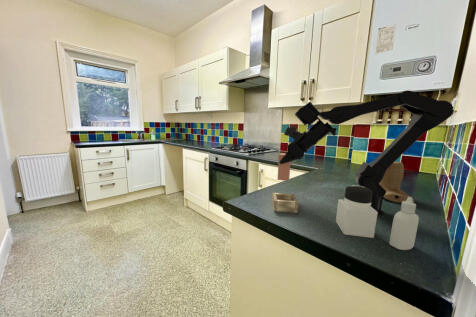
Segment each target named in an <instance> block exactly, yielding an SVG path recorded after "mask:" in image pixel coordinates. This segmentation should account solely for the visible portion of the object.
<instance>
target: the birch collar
mask: <svg viewBox="0 0 476 317" xmlns="http://www.w3.org/2000/svg"><path fill="white" fill-rule="evenodd" d="M271 196H272V197H271V198H272V199H271V204H272V209H273V212H284V213H295V214H296V213H298V212H299V201H298V198H297V197H296V195H295V193H281V192H272V194H271Z"/></svg>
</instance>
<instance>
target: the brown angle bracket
mask: <svg viewBox="0 0 476 317" xmlns="http://www.w3.org/2000/svg"><path fill="white" fill-rule="evenodd" d="M404 167H405V166H404V163H403V162H402V161H395V162H394V163H393V164H392V165H391V166H390V167H389V168H388V169H387V170H386V172H385V175H384V177H383V179H382V180H381V182H380V183H379V184H380V185H381V186H382V187H383V188H384V189H385V190H386V194H385V195H384V197H383V199H385V200H387V201H390V202H392V203H393V202H394V203H399V204H402V202H403V201H406V200H407V198H408V197H411V196H410V195H408V194H407V193H406V192H405V191H403V190H401V185H402V181H403V178H404V172H405V169H404ZM412 202H413V203H415V200H414V198H412Z"/></svg>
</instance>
